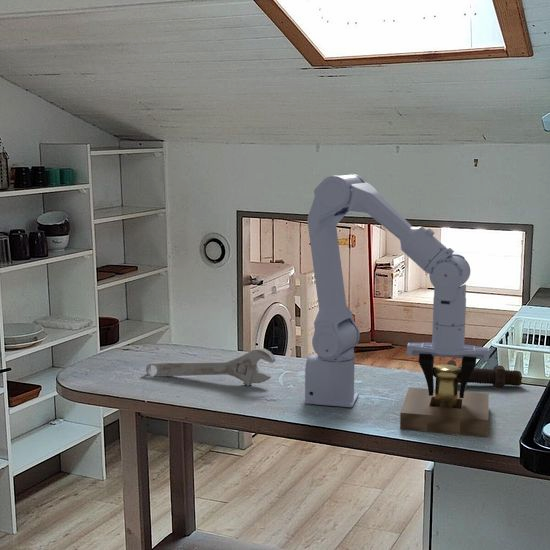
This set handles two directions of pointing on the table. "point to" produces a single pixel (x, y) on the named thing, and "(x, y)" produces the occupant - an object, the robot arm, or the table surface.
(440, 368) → the brass pin
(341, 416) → the table surface
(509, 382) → the bolt
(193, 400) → the table surface
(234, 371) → the wrench
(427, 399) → the socket plate
